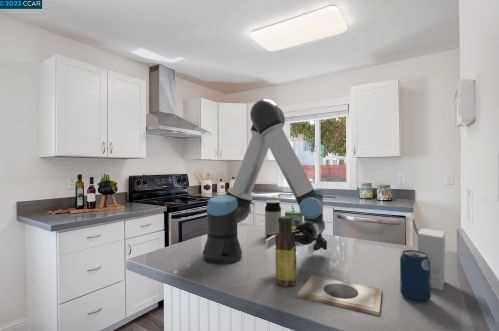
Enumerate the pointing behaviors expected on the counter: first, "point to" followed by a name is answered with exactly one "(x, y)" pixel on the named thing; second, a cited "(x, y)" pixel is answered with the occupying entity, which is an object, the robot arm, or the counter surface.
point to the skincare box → (434, 254)
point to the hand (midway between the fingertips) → (287, 247)
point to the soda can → (415, 276)
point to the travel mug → (272, 216)
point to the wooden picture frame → (343, 294)
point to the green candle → (295, 217)
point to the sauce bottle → (285, 253)
